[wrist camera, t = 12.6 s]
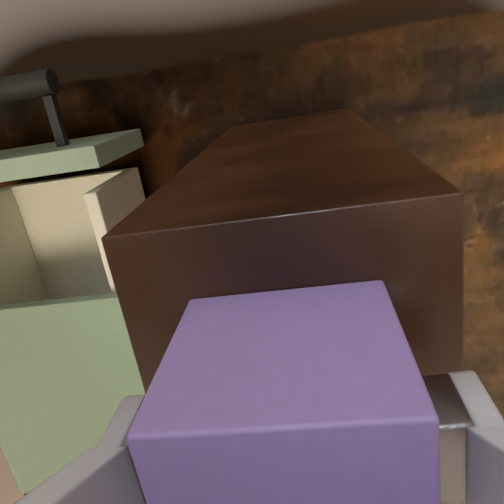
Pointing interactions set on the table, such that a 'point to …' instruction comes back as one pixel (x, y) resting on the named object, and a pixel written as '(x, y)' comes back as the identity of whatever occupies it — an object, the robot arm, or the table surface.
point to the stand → (296, 232)
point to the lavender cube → (289, 404)
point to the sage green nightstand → (60, 380)
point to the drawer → (60, 203)
